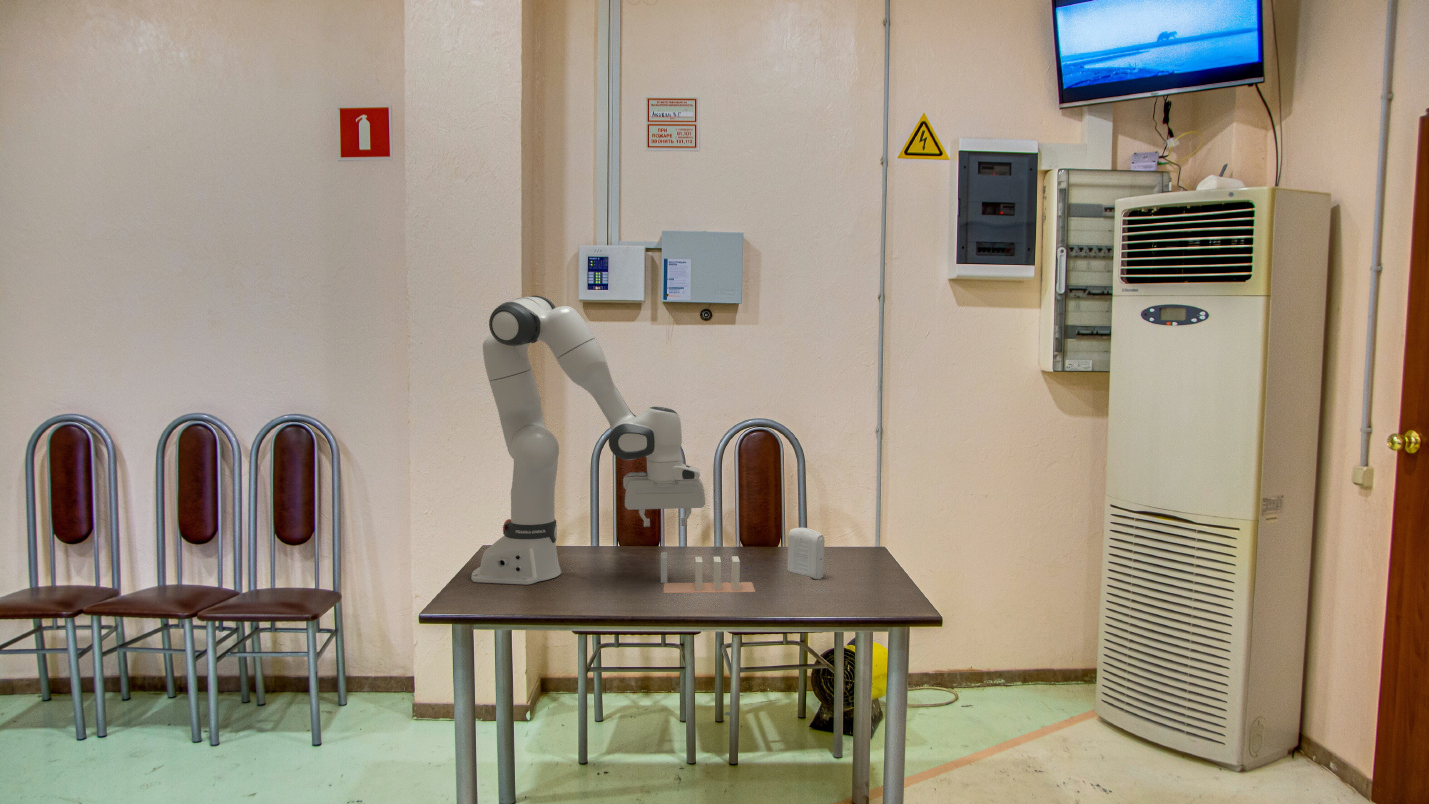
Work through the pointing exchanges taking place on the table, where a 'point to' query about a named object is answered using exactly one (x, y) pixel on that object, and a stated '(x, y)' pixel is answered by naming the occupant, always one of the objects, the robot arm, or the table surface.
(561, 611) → the table surface
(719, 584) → the domino
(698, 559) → the domino
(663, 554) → the domino
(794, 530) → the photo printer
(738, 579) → the domino
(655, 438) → the robot arm
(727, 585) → the strip
